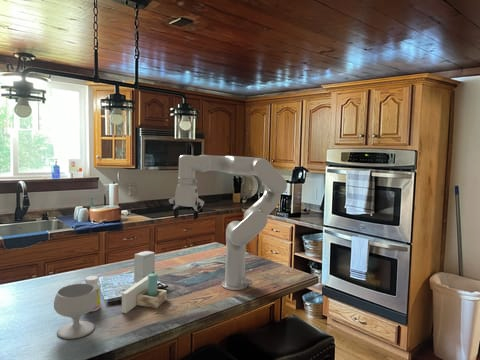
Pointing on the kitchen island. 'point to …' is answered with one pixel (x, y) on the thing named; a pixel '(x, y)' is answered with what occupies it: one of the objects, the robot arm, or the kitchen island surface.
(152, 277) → the dowel
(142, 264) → the skincare box
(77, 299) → the chalice
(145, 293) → the light wooden square frame
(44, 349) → the kitchen island surface
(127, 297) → the wall
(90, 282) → the supplement bottle
